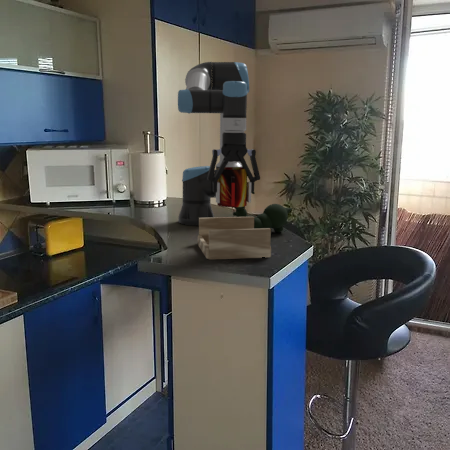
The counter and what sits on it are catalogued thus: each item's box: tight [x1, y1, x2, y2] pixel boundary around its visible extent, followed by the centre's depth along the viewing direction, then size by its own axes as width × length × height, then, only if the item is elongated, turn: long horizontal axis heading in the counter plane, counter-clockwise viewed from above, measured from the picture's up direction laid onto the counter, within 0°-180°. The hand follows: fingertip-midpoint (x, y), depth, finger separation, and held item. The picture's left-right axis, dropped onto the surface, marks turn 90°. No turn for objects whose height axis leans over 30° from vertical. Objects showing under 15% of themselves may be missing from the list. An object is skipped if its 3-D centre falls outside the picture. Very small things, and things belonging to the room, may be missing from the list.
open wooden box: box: [197, 216, 272, 261], centre depth 172 cm, size 22×20×9 cm
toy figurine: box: [232, 191, 293, 233], centre depth 198 cm, size 9×19×25 cm
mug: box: [216, 167, 248, 208], centre depth 169 cm, size 10×14×12 cm
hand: (233, 202), depth 170 cm, fingers closed on mug, 10 cm apart
